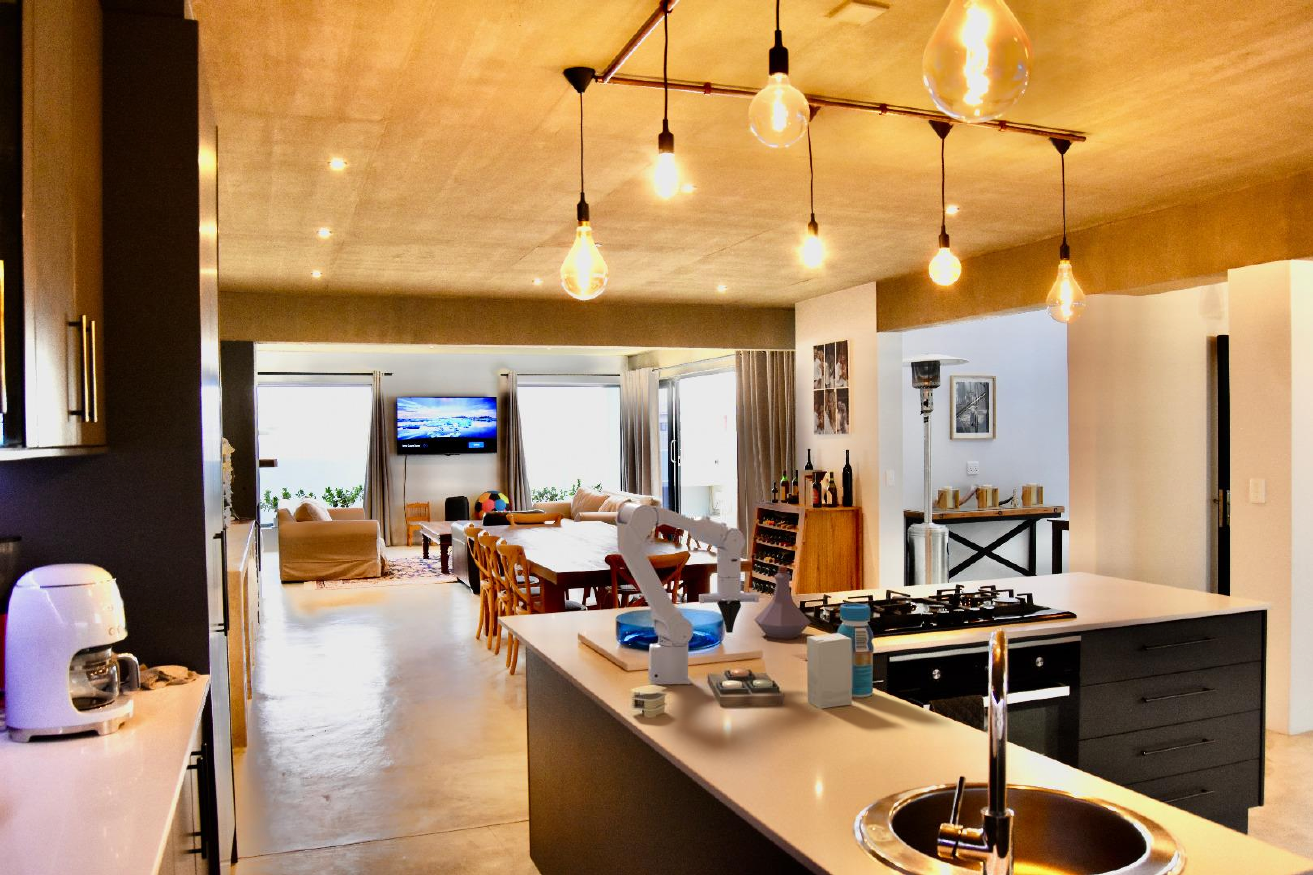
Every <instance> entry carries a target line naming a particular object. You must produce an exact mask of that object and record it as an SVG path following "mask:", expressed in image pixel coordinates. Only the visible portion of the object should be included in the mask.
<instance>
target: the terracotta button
mask: <svg viewBox="0 0 1313 875" xmlns="http://www.w3.org/2000/svg"><path fill="white" fill-rule="evenodd" d="M730 670H731V671H730V676H749V671H748V670H749V669H745V668H735V669H733V668H732V669H730Z"/></svg>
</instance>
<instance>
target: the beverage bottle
mask: <svg viewBox="0 0 1313 875" xmlns="http://www.w3.org/2000/svg"><path fill="white" fill-rule="evenodd" d="M839 617H840V619H839V620H841V621H842V623H841V624H840V626H839V627H838V629H837V632H836V633H840V634H842V635H844V636H846V637H848V638H851V639H852V646H851V647H852V699H853V698H855V699H857V698H859V699H861V698H862V699H863V698H867V697H871V696H872V695H873V693H874V687H873V686H874V685H873V664H874V663H873V662H874V658H873V656H874V655H873V654H874V651H875V646H874V643H873V640H874V634H873V631H872V628H871V626H870V625H869V623H868V622H870V621H871V620H870V619H871V607H870V605H867V604H863V603H854V602H853V603H850V602H849V603H844V604H841V605H840V608H839Z"/></svg>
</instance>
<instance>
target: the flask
mask: <svg viewBox="0 0 1313 875" xmlns="http://www.w3.org/2000/svg"><path fill="white" fill-rule="evenodd" d="M787 572H788V567H787V566H784V565H783V566H782V565H780V566H779V565H778V573H776V574H774V576H773V577H774V579H775V581H776V583H775V589H774V592H773V596H772V600H771V601H770V602H769V603H768V604H767V605H766V607H765V608H764V609H763V610H762V611H761V612H760V613H759V614H758V615H757V616H756V617H755V618H754V620H753V621H755V623H756V624H757V626H758V627H759V628H760V629H761V630H762V632H763V633H764V634H765V635H766V636H767V637H769V638H770V639H771V638H772V639H778V640H779V639H780V640H784V639H785V640H787V639H788V640H789V639H795V638H798V637H799V636H800V635H801V634H802V633H803V632H804V631H805V630H806V628H807V627H808V626H809V624H811V622H812V621H810V620H809V617H807V616H806V615H805V614H804V613H803V611H801V609H800V608H799V607H798V606H797V604H796V603H795V602H794V599H793V596H792V592H791V589H790V581H791V578H792V576H791V575H790V573H787Z"/></svg>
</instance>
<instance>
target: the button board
mask: <svg viewBox="0 0 1313 875" xmlns="http://www.w3.org/2000/svg"><path fill="white" fill-rule="evenodd" d="M731 670H732V669H727V670H726V669H725V670H724V673H707V684H708V686H709V688H710V689H711V691H712V693H713V695H714V697H715V699H716V701H717V703H718V705H719V707H738V706H740V707H741V706H742V707H743V706H747V707H749V706H753V707H754V706H784V705H785V695H784V694H783V693H782V691H781V690H780V686H779V685H778V684H777V683H776V681H775V680H772V679H771V677H770V676H769V675H768V674H767V672H753V671H752V670H751V669H747V670H748V671H749V676H730V671H731ZM754 680H770V681H772V682H773V687H755V688H754V687H753V681H754ZM724 681H739V682H742V688H732V689H722V682H724Z"/></svg>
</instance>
